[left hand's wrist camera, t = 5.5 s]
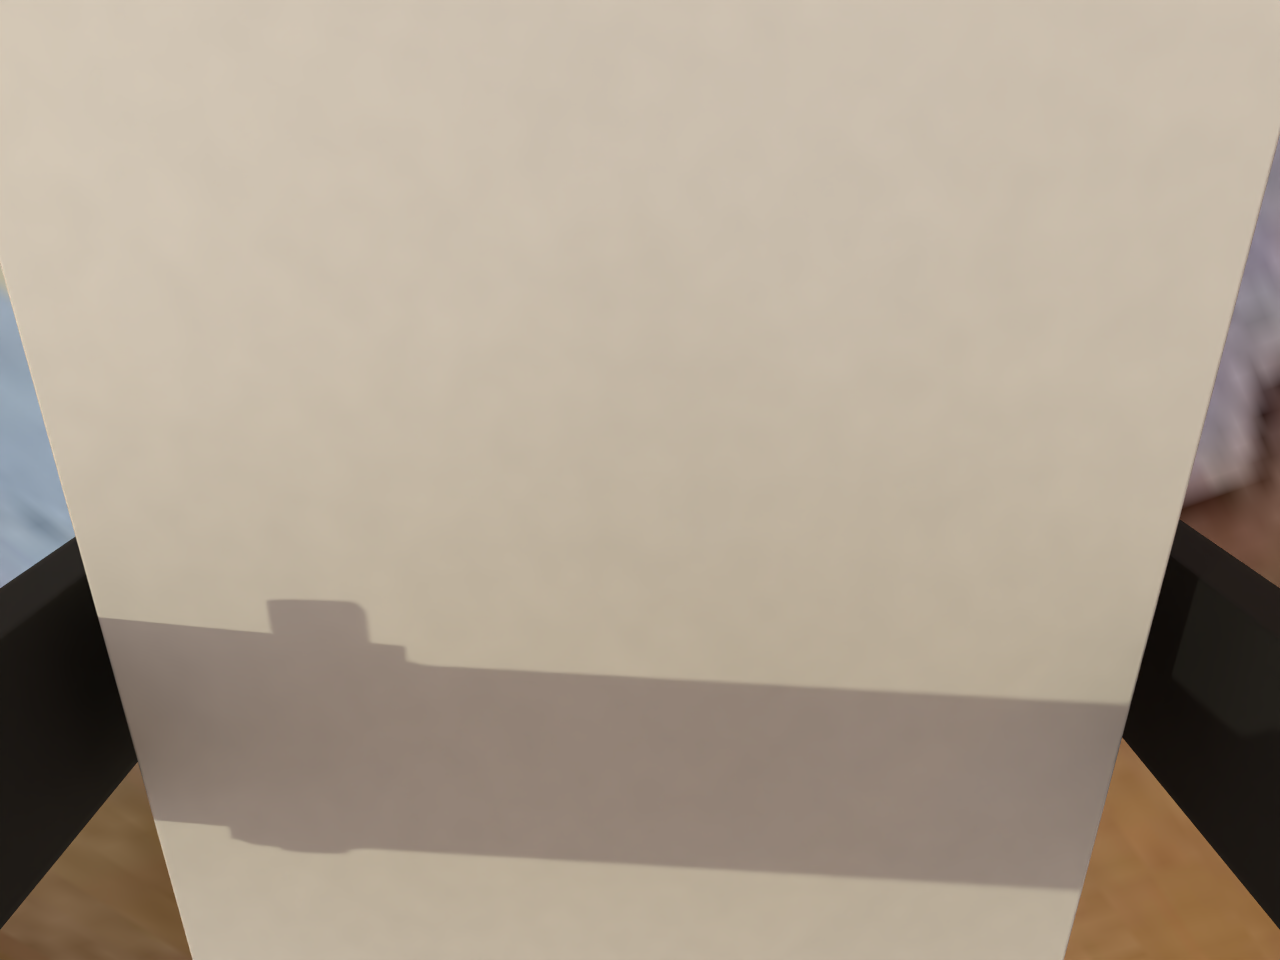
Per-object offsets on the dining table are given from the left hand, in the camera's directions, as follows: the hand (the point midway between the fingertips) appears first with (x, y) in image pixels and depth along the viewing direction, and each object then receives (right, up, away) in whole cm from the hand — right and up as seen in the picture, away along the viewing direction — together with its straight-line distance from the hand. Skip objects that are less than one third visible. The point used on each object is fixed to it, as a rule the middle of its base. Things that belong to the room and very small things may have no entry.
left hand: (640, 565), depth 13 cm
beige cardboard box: (0, +6, +4) cm, 7 cm away
